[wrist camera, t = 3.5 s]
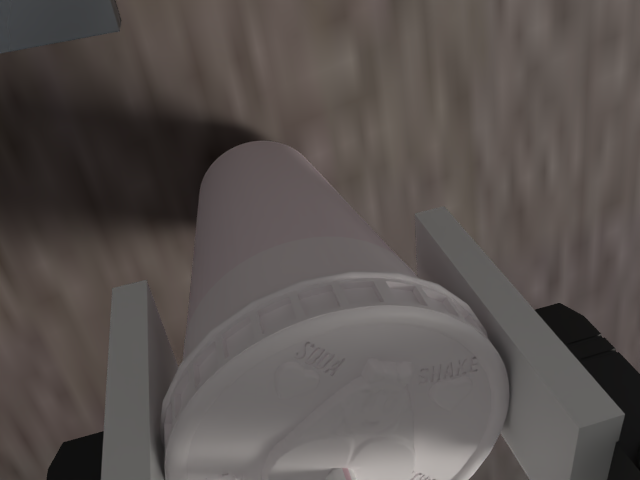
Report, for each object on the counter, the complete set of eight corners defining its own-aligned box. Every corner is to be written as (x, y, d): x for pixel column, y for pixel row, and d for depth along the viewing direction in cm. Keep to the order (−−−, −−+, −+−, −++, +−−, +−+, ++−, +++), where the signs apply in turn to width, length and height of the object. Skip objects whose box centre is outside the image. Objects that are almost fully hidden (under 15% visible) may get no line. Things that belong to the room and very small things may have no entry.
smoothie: (133, 267, 19) (120, 914, 7) (177, 68, 16) (270, 611, 5) (322, 293, 21) (535, 811, 10) (389, 123, 18) (804, 570, 7)
